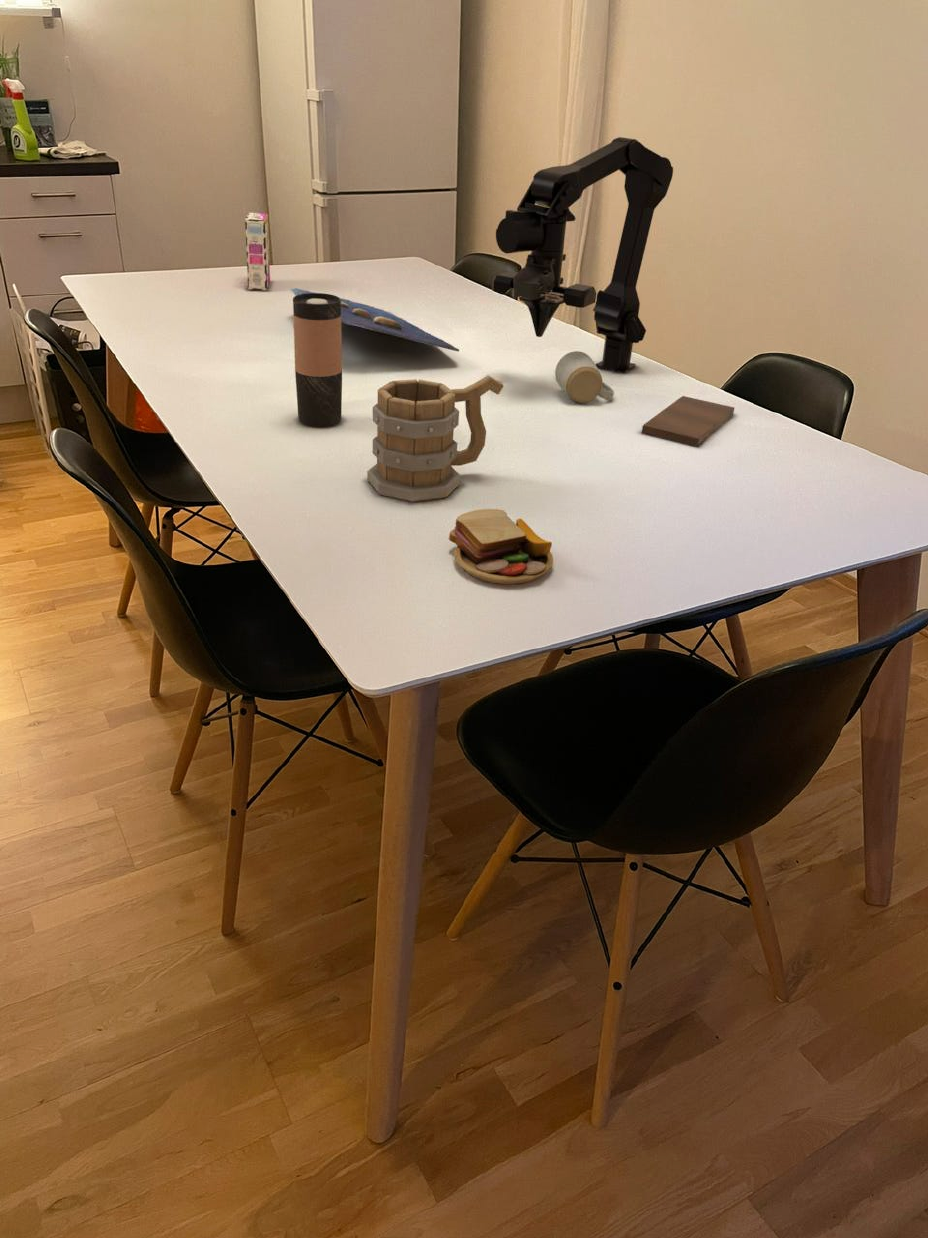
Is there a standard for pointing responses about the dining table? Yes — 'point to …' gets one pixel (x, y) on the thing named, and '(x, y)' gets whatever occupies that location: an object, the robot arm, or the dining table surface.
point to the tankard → (424, 437)
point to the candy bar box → (257, 251)
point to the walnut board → (688, 421)
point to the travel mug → (318, 358)
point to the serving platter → (383, 322)
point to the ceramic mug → (581, 378)
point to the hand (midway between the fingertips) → (539, 336)
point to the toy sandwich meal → (499, 548)
